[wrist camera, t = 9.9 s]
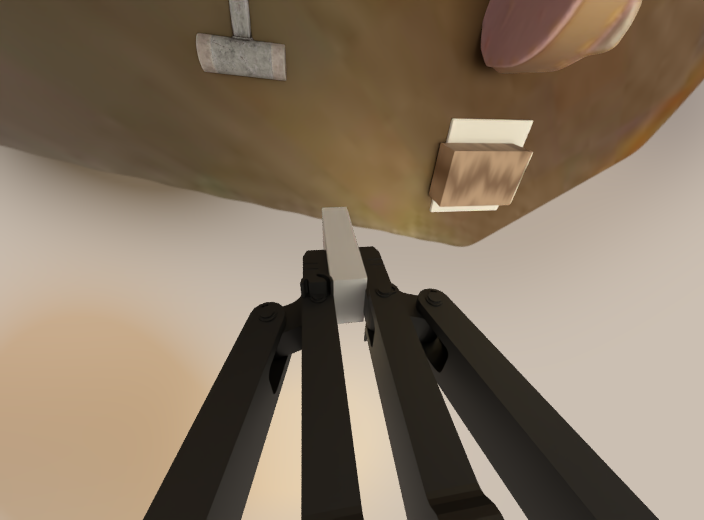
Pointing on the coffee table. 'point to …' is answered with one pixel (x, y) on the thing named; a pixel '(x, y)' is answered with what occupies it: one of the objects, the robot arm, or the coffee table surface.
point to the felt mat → (484, 133)
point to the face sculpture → (551, 32)
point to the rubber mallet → (241, 50)
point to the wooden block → (478, 173)
